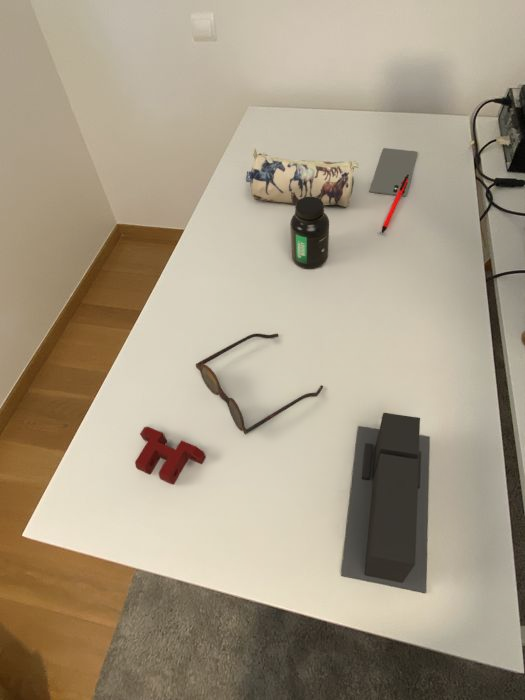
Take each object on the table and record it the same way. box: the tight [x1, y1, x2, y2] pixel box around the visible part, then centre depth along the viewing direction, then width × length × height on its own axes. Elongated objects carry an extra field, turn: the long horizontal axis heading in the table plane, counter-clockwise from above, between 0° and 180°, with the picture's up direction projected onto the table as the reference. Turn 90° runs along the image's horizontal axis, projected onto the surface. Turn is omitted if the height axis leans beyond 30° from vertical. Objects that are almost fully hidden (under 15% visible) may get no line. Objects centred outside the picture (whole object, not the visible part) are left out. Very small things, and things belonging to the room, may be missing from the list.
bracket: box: [134, 426, 207, 486], centre depth 71 cm, size 3×6×10 cm
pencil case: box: [245, 148, 359, 208], centre depth 101 cm, size 22×8×10 cm, turn 77°
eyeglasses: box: [195, 333, 324, 436], centre depth 76 cm, size 15×15×5 cm
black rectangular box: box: [373, 412, 421, 477], centre depth 65 cm, size 4×5×9 cm
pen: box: [381, 175, 409, 234], centre depth 100 cm, size 1×19×1 cm, turn 156°
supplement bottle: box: [289, 196, 330, 270], centre depth 89 cm, size 7×7×12 cm
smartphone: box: [369, 147, 418, 198], centre depth 107 cm, size 8×1×16 cm
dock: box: [340, 425, 431, 594], centre depth 62 cm, size 10×20×10 cm, turn 168°
